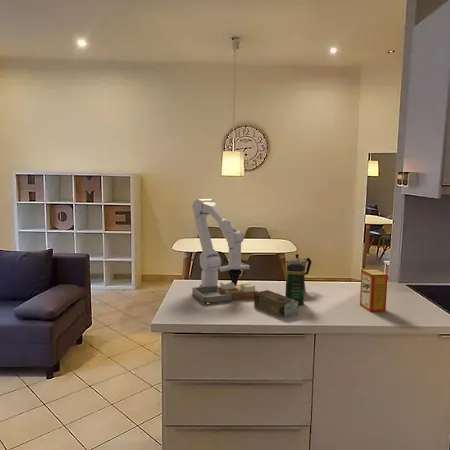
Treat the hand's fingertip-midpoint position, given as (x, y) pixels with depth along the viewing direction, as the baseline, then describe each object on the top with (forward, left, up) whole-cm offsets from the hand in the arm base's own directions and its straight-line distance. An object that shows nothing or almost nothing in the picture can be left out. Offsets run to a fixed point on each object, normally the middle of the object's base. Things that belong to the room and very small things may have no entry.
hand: (234, 285), depth 197 cm
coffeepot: (+6, +31, -4) cm, 32 cm away
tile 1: (0, -4, 0) cm, 4 cm away
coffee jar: (+24, +18, -4) cm, 30 cm away
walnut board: (+4, 0, -4) cm, 5 cm away
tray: (+4, -13, -4) cm, 14 cm away
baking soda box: (+42, +45, -4) cm, 62 cm away
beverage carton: (+29, +6, -4) cm, 30 cm away
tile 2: (+8, +3, 0) cm, 8 cm away
